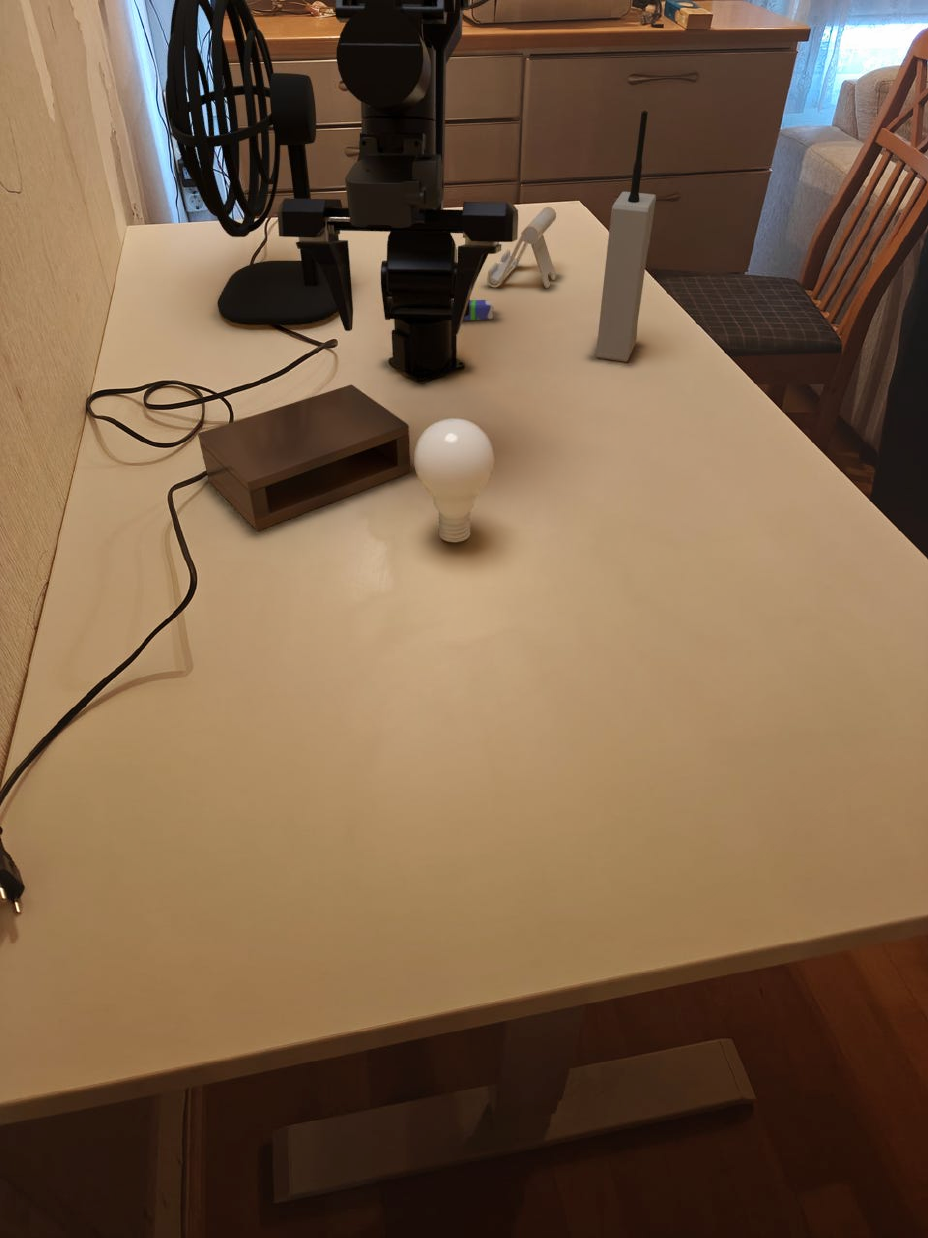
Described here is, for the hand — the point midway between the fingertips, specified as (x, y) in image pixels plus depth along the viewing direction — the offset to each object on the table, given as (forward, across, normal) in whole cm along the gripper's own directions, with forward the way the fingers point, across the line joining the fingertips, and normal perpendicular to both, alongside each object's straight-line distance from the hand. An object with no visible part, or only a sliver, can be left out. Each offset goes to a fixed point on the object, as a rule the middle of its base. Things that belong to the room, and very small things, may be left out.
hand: (401, 332), depth 74 cm
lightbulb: (+16, +6, -7) cm, 18 cm away
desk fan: (+2, -25, +41) cm, 48 cm away
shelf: (+13, -9, +1) cm, 16 cm away
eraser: (+3, +1, +38) cm, 38 cm away
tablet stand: (0, +7, +52) cm, 52 cm away
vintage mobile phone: (+6, +19, +31) cm, 37 cm away
